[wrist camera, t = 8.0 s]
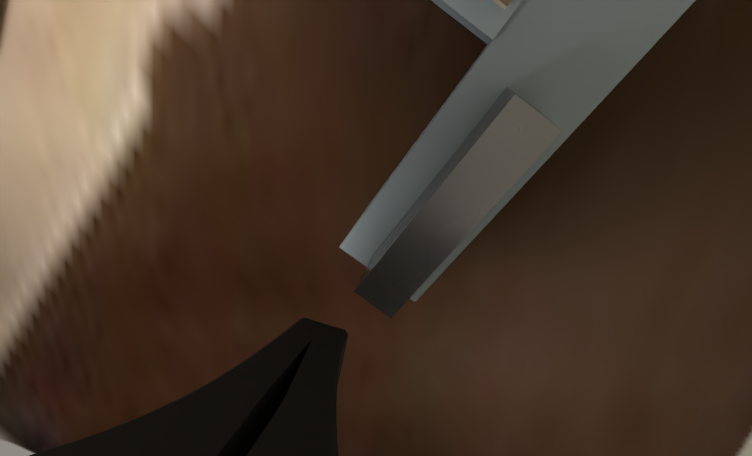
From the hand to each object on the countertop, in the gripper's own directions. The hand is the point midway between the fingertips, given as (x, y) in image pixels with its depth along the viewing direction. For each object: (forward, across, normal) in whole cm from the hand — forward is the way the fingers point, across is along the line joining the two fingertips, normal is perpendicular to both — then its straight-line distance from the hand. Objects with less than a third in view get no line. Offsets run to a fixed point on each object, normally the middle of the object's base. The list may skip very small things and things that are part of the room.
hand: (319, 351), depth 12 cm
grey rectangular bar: (0, -2, -5) cm, 6 cm away
